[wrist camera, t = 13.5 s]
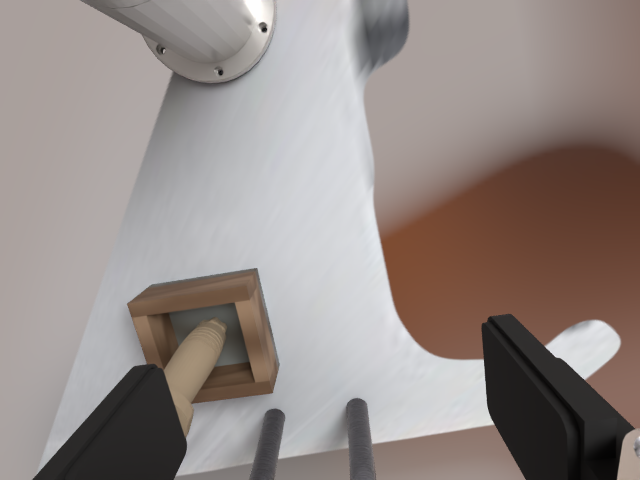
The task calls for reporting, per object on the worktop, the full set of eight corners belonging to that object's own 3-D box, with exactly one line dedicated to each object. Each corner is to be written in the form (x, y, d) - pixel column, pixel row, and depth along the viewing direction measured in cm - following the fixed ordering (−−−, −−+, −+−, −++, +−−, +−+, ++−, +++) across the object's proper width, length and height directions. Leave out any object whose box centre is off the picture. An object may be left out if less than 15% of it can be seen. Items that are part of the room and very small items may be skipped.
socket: (151, 284, 41) (127, 303, 36) (257, 268, 40) (246, 285, 35) (180, 378, 44) (161, 407, 39) (279, 364, 43) (272, 393, 38)
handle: (180, 335, 41) (96, 440, 27) (213, 295, 40) (144, 383, 25) (215, 360, 42) (152, 476, 27) (249, 322, 40) (201, 423, 26)
